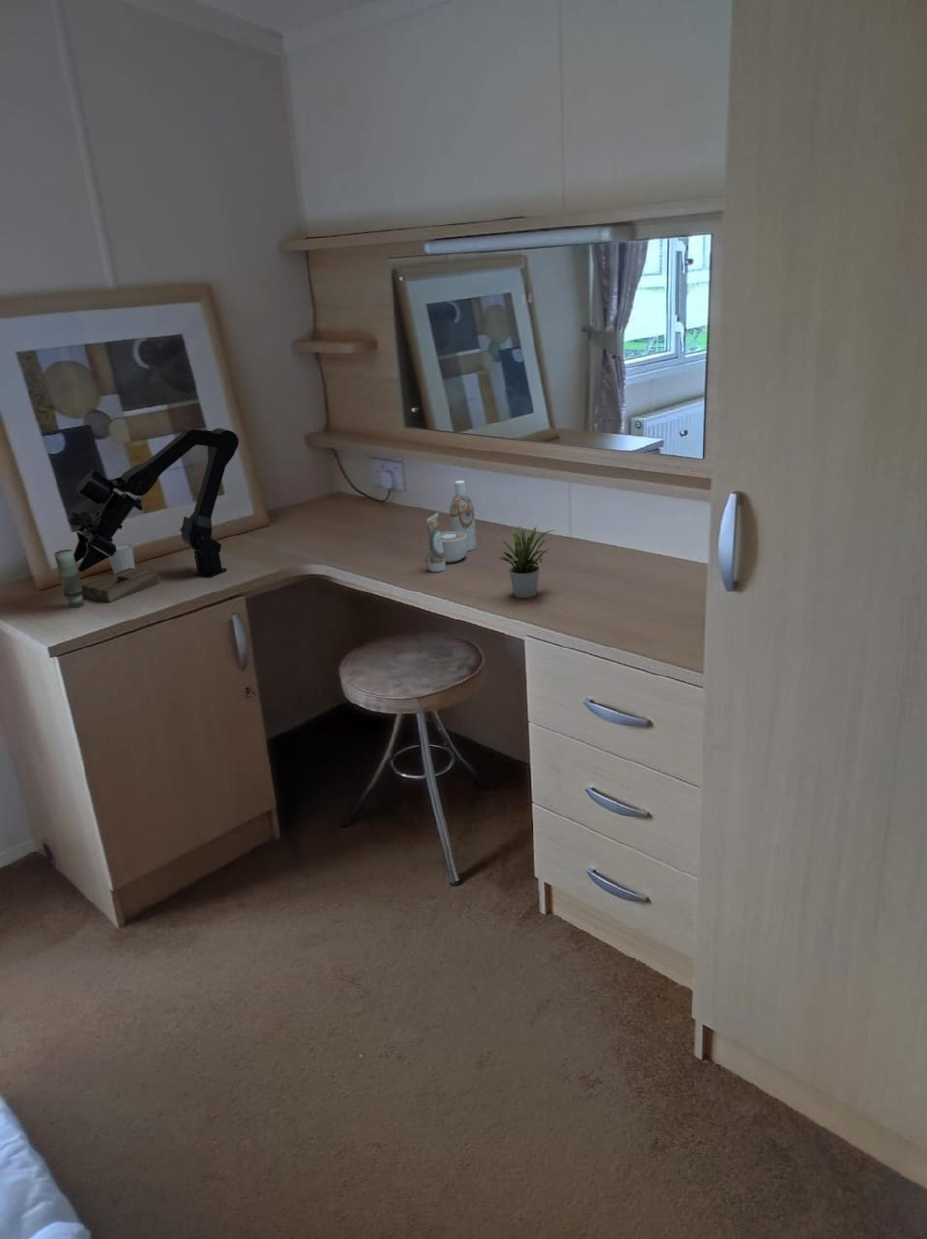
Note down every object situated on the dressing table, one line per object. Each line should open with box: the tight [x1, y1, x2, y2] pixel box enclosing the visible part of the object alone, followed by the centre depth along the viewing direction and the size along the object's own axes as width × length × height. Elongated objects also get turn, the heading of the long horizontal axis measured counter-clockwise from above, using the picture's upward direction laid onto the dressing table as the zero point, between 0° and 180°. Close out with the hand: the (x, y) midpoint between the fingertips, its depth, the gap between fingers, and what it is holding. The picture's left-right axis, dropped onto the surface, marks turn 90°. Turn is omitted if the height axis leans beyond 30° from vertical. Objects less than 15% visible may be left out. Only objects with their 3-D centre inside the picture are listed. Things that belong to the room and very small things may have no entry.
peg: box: [54, 549, 85, 609], centre depth 219 cm, size 4×4×14 cm
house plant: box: [493, 525, 556, 599], centre depth 204 cm, size 14×14×16 cm
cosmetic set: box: [426, 480, 477, 573], centre depth 232 cm, size 25×9×19 cm, turn 157°
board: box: [81, 568, 159, 603], centre depth 230 cm, size 11×15×3 cm
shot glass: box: [108, 543, 136, 574], centre depth 244 cm, size 7×7×7 cm
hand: (76, 566), depth 219 cm, fingers open, 9 cm apart
